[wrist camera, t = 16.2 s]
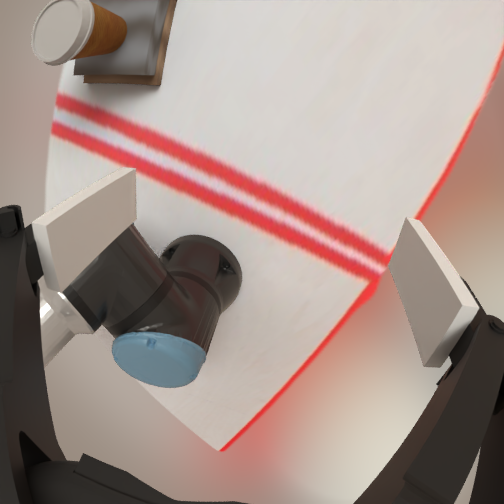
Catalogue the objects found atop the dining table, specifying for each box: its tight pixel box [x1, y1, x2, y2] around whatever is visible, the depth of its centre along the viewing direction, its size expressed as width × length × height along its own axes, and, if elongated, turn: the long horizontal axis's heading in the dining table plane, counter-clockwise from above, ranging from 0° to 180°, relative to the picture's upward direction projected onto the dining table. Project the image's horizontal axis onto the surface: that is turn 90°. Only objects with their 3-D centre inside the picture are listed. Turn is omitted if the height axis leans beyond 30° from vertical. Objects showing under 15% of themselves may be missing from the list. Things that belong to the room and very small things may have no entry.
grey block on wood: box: [74, 0, 177, 85], centre depth 34 cm, size 16×14×5 cm
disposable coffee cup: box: [31, 0, 127, 65], centre depth 27 cm, size 10×10×12 cm
